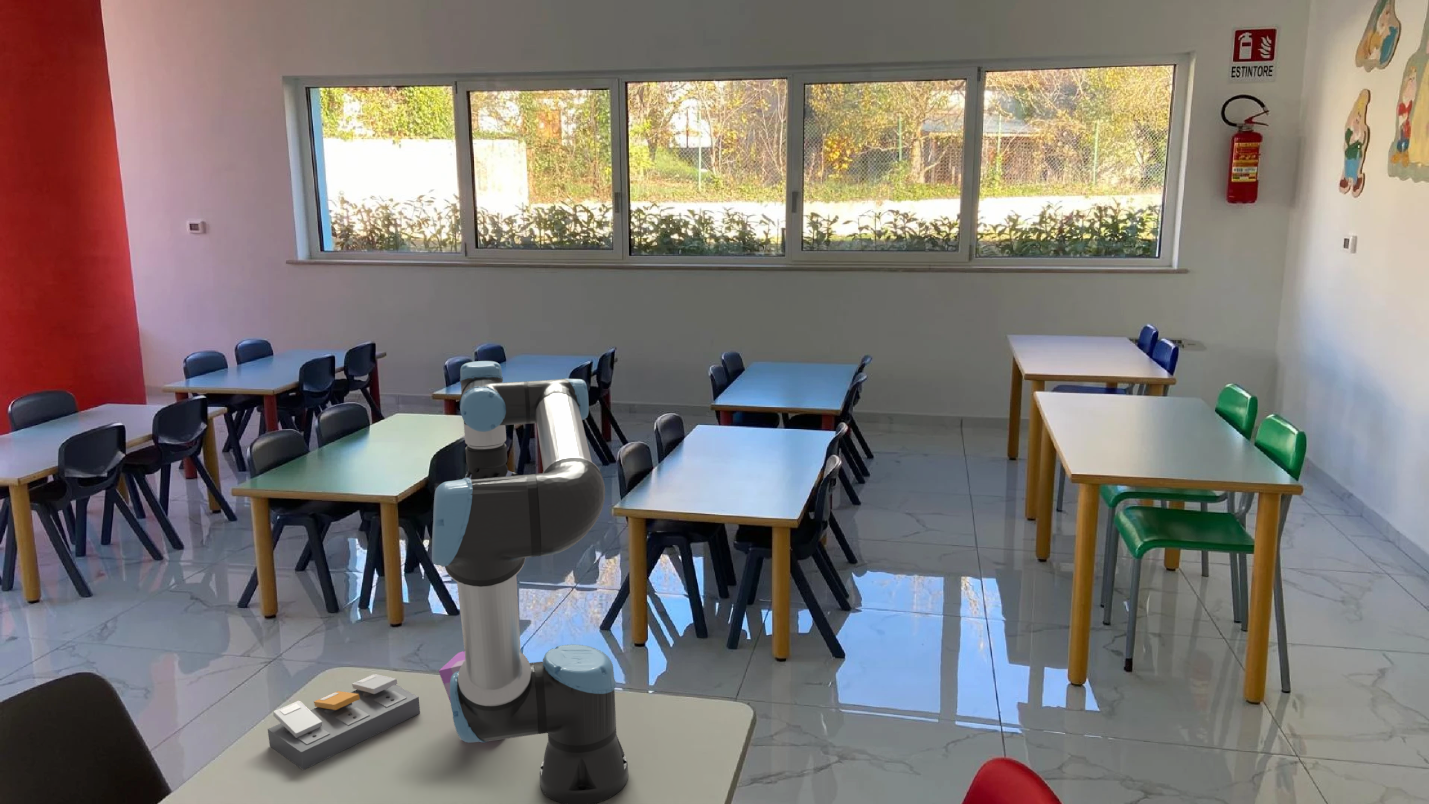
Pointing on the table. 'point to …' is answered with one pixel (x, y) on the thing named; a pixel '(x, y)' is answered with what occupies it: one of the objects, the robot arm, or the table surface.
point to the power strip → (345, 725)
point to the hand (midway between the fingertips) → (493, 562)
